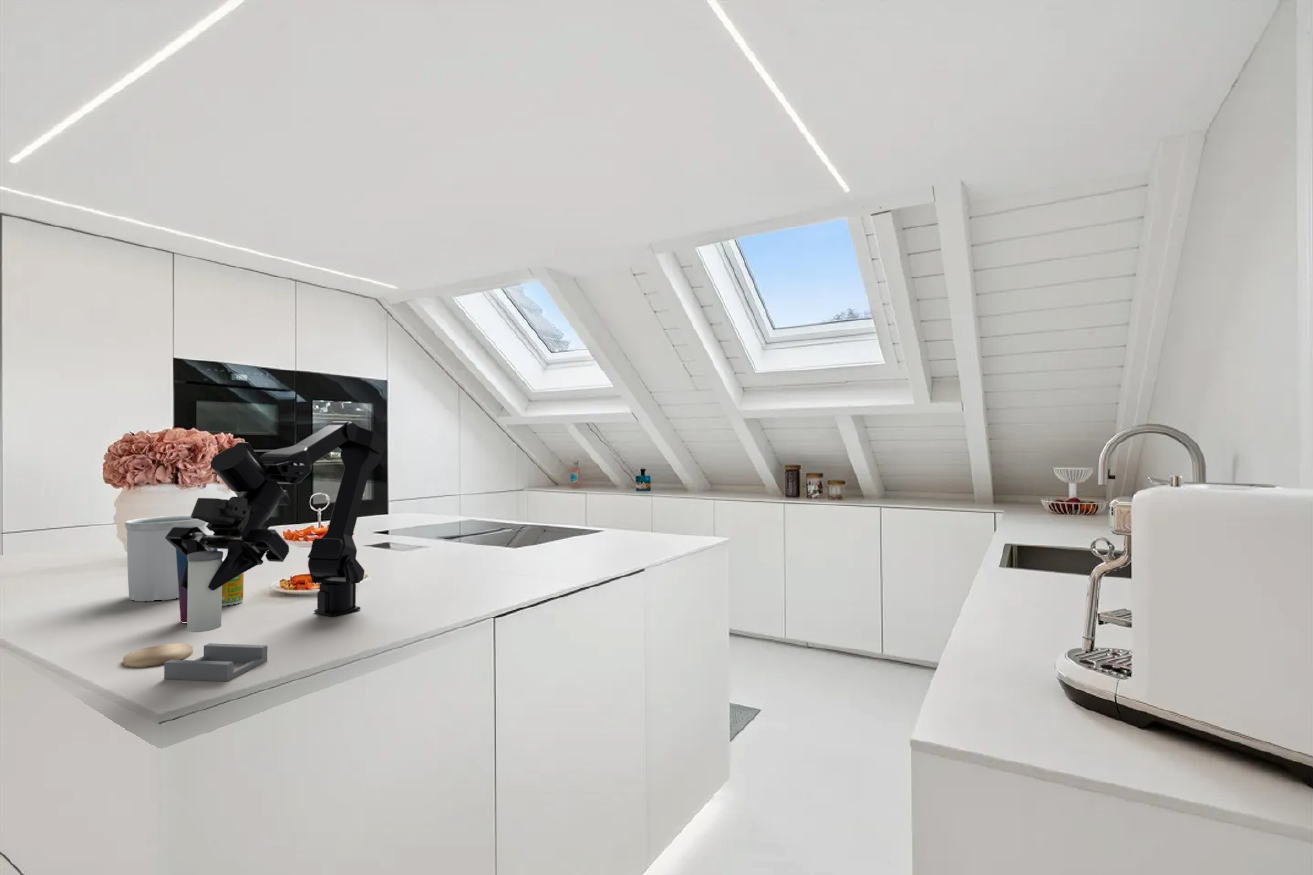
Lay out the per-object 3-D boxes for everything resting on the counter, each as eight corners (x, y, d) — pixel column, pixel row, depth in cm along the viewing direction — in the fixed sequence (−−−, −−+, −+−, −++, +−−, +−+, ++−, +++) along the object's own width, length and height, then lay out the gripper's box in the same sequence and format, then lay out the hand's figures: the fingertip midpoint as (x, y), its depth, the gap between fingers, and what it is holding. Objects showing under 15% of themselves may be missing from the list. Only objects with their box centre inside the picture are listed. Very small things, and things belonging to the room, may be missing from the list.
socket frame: (209, 658, 104) (209, 643, 104) (267, 660, 103) (267, 645, 103) (164, 678, 95) (164, 662, 95) (227, 681, 94) (227, 664, 94)
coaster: (176, 644, 110) (176, 640, 110) (203, 653, 106) (203, 649, 106) (112, 660, 102) (112, 655, 102) (139, 671, 98) (139, 666, 98)
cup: (225, 617, 127) (226, 543, 127) (190, 626, 121) (191, 548, 121) (201, 613, 129) (202, 541, 129) (166, 622, 123) (167, 546, 123)
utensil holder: (106, 600, 138) (107, 521, 138) (169, 585, 153) (169, 513, 153) (163, 604, 136) (164, 523, 136) (222, 588, 151) (222, 515, 151)
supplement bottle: (228, 607, 134) (228, 561, 134) (207, 605, 135) (207, 560, 135) (249, 600, 140) (249, 557, 140) (228, 599, 141) (229, 556, 141)
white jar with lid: (214, 621, 103) (215, 549, 103) (227, 626, 100) (228, 552, 100) (181, 628, 99) (182, 553, 99) (193, 634, 96) (194, 557, 96)
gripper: (175, 477, 105) (109, 556, 94) (277, 480, 102) (220, 561, 91) (215, 518, 113) (157, 596, 102) (310, 522, 110) (261, 601, 99)
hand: (197, 588), depth 98 cm, fingers closed on white jar with lid, 4 cm apart
